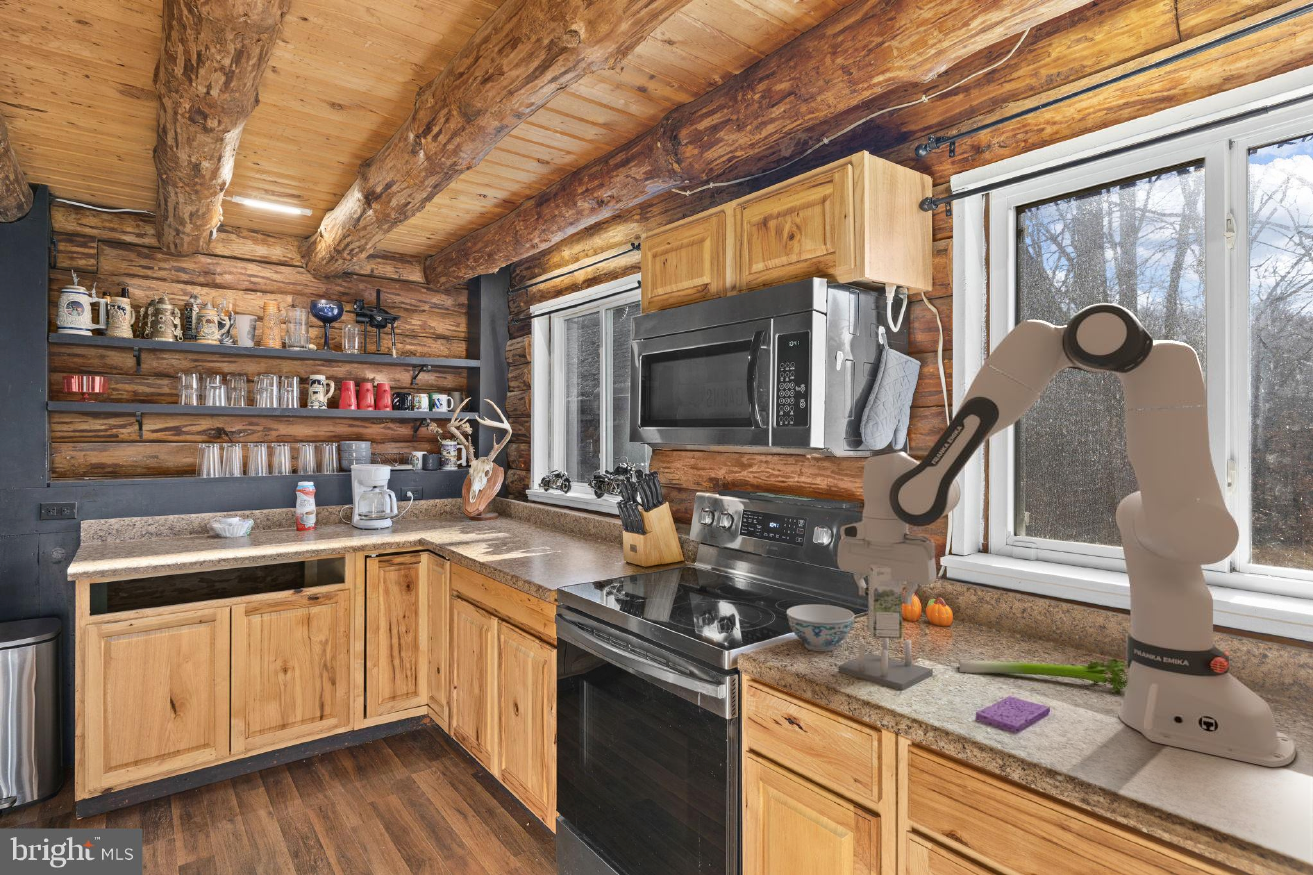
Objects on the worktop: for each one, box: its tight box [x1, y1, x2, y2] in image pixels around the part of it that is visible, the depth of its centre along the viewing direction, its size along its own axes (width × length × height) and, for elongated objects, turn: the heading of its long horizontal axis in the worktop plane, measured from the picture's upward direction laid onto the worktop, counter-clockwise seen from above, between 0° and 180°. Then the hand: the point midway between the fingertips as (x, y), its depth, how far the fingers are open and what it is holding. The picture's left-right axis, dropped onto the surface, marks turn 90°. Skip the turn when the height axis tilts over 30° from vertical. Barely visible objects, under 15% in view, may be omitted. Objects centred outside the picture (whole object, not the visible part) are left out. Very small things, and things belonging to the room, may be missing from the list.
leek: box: [958, 658, 1129, 693], centre depth 137 cm, size 6×7×30 cm
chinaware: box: [786, 604, 855, 652], centre depth 159 cm, size 15×15×8 cm
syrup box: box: [867, 563, 903, 639], centre depth 141 cm, size 6×6×14 cm
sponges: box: [975, 695, 1051, 734], centre depth 120 cm, size 7×13×2 cm, turn 128°
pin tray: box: [837, 638, 934, 691], centre depth 141 cm, size 14×12×6 cm
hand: (884, 599), depth 141 cm, fingers open, 8 cm apart
